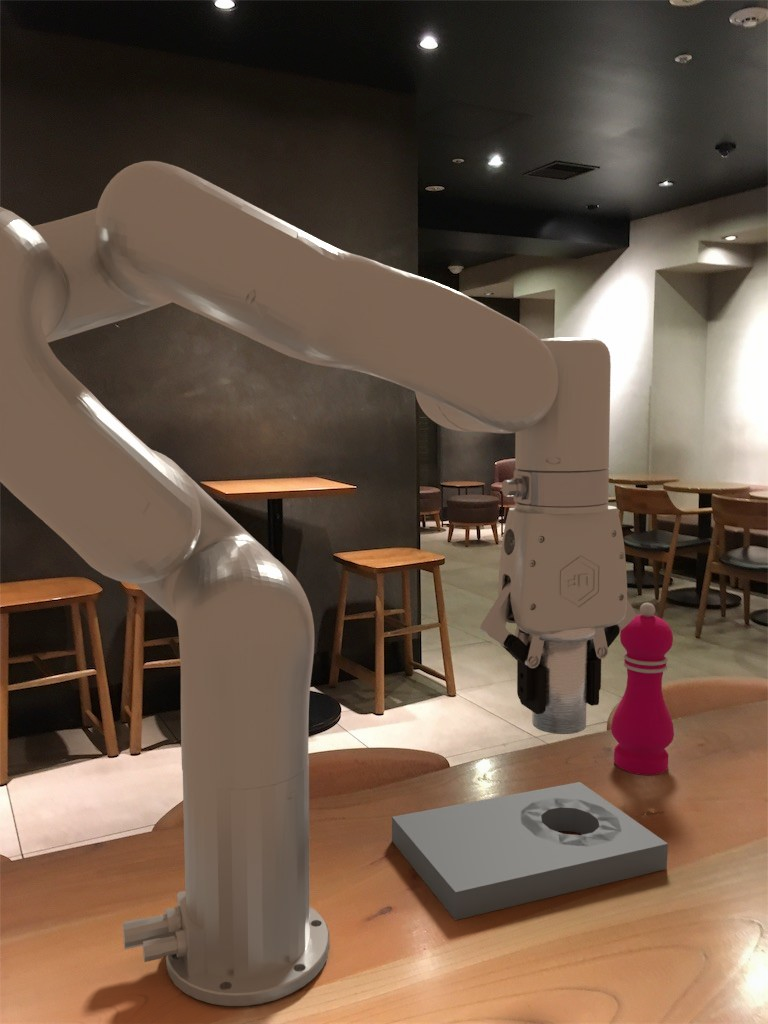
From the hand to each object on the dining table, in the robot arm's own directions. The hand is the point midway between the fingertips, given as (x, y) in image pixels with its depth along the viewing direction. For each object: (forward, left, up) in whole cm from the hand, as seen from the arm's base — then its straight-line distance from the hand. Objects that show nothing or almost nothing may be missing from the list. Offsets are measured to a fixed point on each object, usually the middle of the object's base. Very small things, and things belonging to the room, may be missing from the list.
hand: (559, 702), depth 71 cm
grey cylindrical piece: (0, 0, -2) cm, 2 cm away
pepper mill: (+26, +20, -18) cm, 37 cm away
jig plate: (+2, +7, -18) cm, 19 cm away
